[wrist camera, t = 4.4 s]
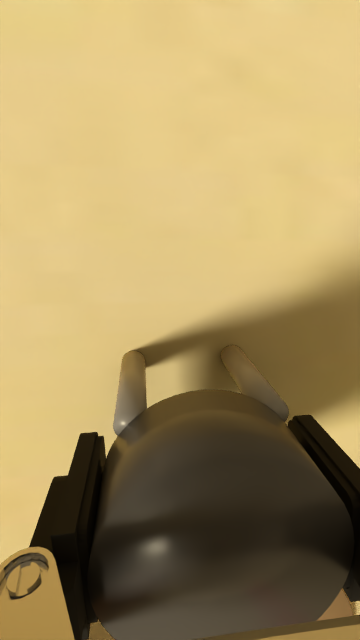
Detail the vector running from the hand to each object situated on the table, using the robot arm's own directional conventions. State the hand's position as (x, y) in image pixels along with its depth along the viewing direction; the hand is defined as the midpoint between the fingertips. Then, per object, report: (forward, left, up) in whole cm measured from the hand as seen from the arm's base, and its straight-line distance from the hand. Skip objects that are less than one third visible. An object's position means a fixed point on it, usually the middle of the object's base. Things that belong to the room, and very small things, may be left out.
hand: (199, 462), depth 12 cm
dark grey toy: (0, 0, -4) cm, 4 cm away
